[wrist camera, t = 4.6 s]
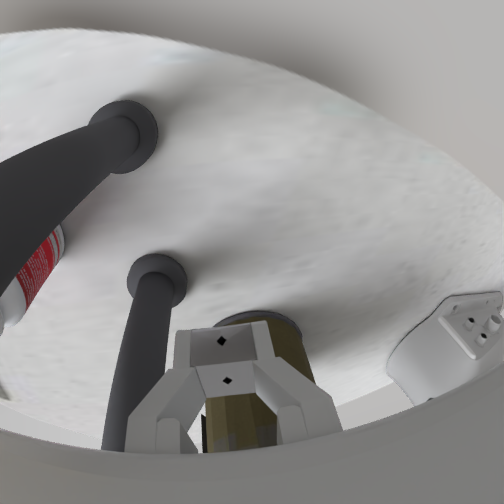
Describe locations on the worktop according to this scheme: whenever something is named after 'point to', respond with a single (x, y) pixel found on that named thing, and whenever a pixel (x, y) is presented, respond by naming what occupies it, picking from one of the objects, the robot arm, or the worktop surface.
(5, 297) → the pill bottle
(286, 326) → the canister
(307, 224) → the worktop surface
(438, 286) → the worktop surface
